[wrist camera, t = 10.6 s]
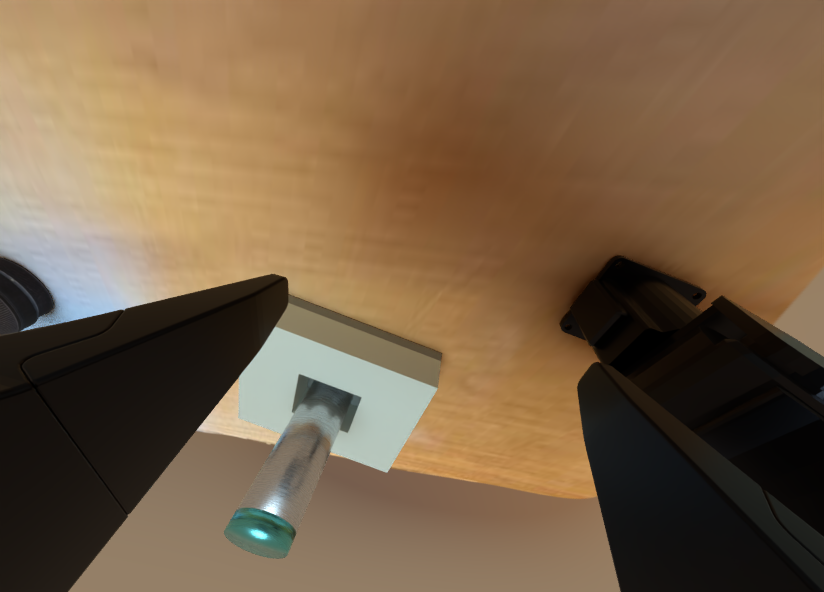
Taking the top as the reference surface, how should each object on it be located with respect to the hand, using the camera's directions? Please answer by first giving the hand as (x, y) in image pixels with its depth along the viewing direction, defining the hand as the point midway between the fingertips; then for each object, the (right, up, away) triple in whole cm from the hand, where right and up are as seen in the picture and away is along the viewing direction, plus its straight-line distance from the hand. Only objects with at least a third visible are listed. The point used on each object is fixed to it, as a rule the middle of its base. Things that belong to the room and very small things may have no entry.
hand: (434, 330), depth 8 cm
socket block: (-8, -7, +21) cm, 23 cm away
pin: (-8, -7, +20) cm, 23 cm away
